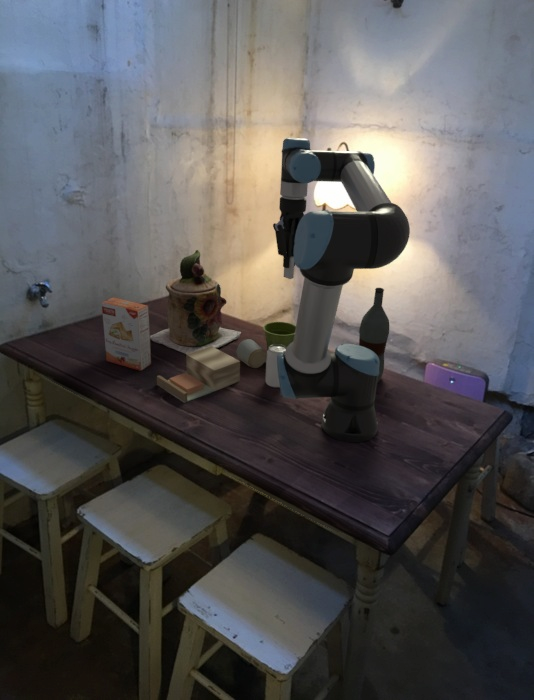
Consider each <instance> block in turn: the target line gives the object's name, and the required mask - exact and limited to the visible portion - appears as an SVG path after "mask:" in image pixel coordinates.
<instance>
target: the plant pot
mask: <svg viewBox="0 0 534 700" xmlns="http://www.w3.org/2000/svg"><path fill="white" fill-rule="evenodd" d="M262 329H263V331H264V335H265V341H266V350H267V351H268V348H269V346H271V345H283V346H285V347H286V348H287V347H288V345H289V344H290V343H292V342H293V340H294V334H295V329H296V324H294V323H292V322H286V321H271V322H267V323H265V324H264V325H263V326H262ZM267 351H266V352H267Z"/></svg>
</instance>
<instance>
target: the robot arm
mask: <svg viewBox="0 0 534 700" xmlns="http://www.w3.org/2000/svg"><path fill="white" fill-rule="evenodd" d="M374 159H375V158H374V155H373V154H372V153H370V152H367V151H365V152H364V151H359V150H357V151H345V150H344V151H342V150H340V151H339V150H338V151H337V150H336V151H333V150H311V141H310V140H309V139H308V138H301V137H286V138H284V140H283V141H282V149H281V168H280V169H281V171H280V173H281V175H280V188H279V189H280V191H279V194H280V197H279V211H280V217H279V221H277V223H276V222H275V223H274V222H273V224H272V227H273V230H274V232H275V239H276V247H277V254H278V255H279V256H282V257H283V262H282V267H283V278H285V279H288V280H292V279H294V277H295V276H294V274H295V266H296V268H298V269H299V273H300V274H301V275H302V276H303V283H302V284H303V285H302V288H301V289H302V290H301V295H300V301H299V306H298V307H299V308H298V311H297V319H296V324H295V326H296V329H295V334H294V340H293V342H292V343H290V344H289V345H288V347H287V348H286V351H285V353H281V354H278V355H277V368H278V378H279V385H280V387H279V390H280V394H281V396H282V397H283V398H285V399H295V400H298V399H314V398H315V399H318V398H330V400H329V403H328V404H327V406H326V408H325V410H324V412H323V414H322V418H321V428H322V430H323V431H324V432H325V433H326V434H327V435H328V436H330V437H332V438H333V439H336V440H337V441H342V442H345V443H346V442H347V443H362V442H363V443H364V442H366V441H371V440H372V439H373V438H374V437H375V436H376V435H377V433H378V427H379V421H378V419H377V413H376V409H375V408H376V407H375V401H376V393H377V389H378V387H377V386H378V383H379V382H378V375H379V363H380V361H379V358H378V356H377V355H376V354H375V353H374V352H373V351H372V350H370V349H368V348H366V347H363V346H360V345H359V344H353V343H341V344H338V345H337V346H336V348H335V349H334V352H330V349H329V344H330V340H331V335H332V332H333V328H334V324H335V319H336V317H337V316H336V315H337V312H338V307H339V302H340V298H341V295H342V290H343V286H344V285H346V284H347V283H349V282H350V281H351V280H352V277H353V274H354V270H362V269H363V270H366V269H369V270H371V269H374V270H375V269H379V268H383V267H385V266H387V265H390V264H391V263H393V262H394V261H396V260H397V259H398V258H399V257H400V256H401V254H402V253H403V252H404V250H405V248H406V247H407V245H408V242H409V238H410V233H411V230H410V229H411V228H410V223H409V219H408V217H407V215H406V214H405V212H404V211H403V209H402V207H400V206H399V205H398V204H397V203H394V202H392V201H391V200H390V198H389V197H388V195H387V194H386V192H385V191H384V189H383V188H382V186H381V184H380V183H379V182H378V180H377V179H376V176H375V175H374V174H375V167H376V165H375V160H374ZM311 182H331V183H332V182H334V183H335V182H336V183H337V182H338V183H339V182H340V183H341V184H342V186H343V188H344V189H345V191H346V193H347V195H348V197H349V199H350V201H351V203H352V205H353V207H354V208H355V210H356V211H338V210H337V211H334V210H333V211H331V210H328V209H323V210H318V211H315V210H314V211H313V210H312V211H308V212H306V210H307V198H306V197H307V196H308V186H309V185H308V184H310V183H311ZM305 212H306V213H305ZM304 213H305V214H304Z"/></svg>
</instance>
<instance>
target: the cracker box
mask: <svg viewBox="0 0 534 700" xmlns="http://www.w3.org/2000/svg"><path fill="white" fill-rule="evenodd" d="M101 311H102V321H103V322H102V323H103V334H104V335H103V336H104V346H105V356H106V357H105V358H106V362H108V363H109V362H110V363H113V364H116V365H120V366H121V367H122V366H123V367H125V368H129V369H132V370H136V371H139V372H142V371H143V370H145V369H146V368H148V367H149V366H151V365H152V357H151V356H152V354H151V339H150V336H151V334H150V331H151V330H150V316H149V315H150V314H149V305H147V304H141V303H140V302H139V303H138V302H134V301H130V300H125V299H121V298H119V297H118V298H117V297H111V298H109V299H106V300H103V301H102V302H101Z"/></svg>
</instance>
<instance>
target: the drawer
mask: <svg viewBox="0 0 534 700" xmlns="http://www.w3.org/2000/svg"><path fill="white" fill-rule="evenodd" d="M156 385H157V386H158V387H160V388H161V389H163V390H164V391H165V392H167V393H169V394H170V395H171V396H174V397H175V398H176V399H178V400H179V401H180V402H182V403H184V404H185V403H188V402H191V401H192V400H195V399H198V398H201V397H204V396H206V395H209V394H211V393H213V392H215V391H214V390H213V389H212V388H210V387H208V386H207V385H205V384H204V389H203V390H200V391H197V392H195V393H192V394H190V395H187V392H185V391H183V390H182V389H180V388H179V387H177V386H176V385H174V384H173V383H171V382H170V381H169V379H166V378H165V377H163V376H162V375H160V374H159V375H157V376H156Z"/></svg>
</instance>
